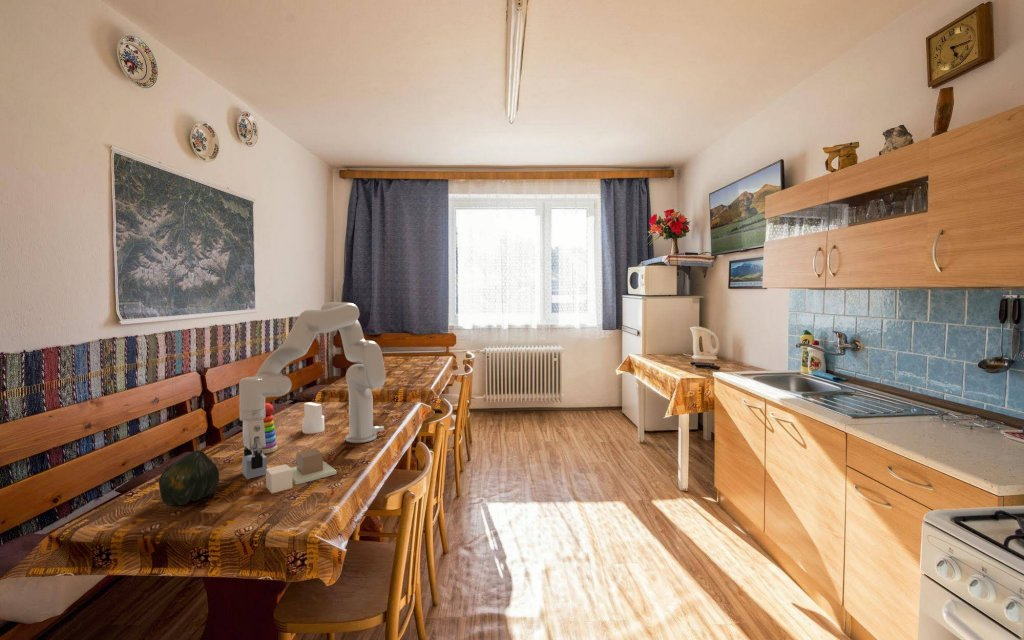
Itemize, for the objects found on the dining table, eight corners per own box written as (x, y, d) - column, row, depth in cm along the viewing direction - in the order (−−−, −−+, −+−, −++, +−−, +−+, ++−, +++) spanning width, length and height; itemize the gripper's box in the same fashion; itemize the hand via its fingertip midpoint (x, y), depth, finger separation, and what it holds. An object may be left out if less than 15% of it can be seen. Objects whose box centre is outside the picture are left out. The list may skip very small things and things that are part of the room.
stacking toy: (267, 455, 171) (266, 406, 170) (249, 453, 173) (247, 405, 172) (282, 448, 179) (281, 401, 178) (264, 446, 181) (263, 400, 180)
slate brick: (262, 469, 158) (261, 452, 158) (267, 474, 154) (266, 457, 153) (242, 474, 154) (242, 456, 154) (246, 479, 149) (246, 461, 149)
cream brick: (286, 482, 147) (286, 464, 147) (292, 488, 143) (292, 469, 143) (266, 487, 143) (265, 468, 143) (271, 493, 139) (271, 474, 139)
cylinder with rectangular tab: (328, 429, 204) (328, 403, 203) (310, 434, 196) (309, 407, 196) (316, 426, 209) (315, 400, 208) (298, 431, 201) (297, 404, 200)
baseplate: (322, 463, 163) (322, 443, 163) (336, 474, 154) (336, 453, 154) (283, 472, 155) (283, 452, 154) (296, 484, 145) (295, 462, 145)
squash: (135, 491, 127) (170, 452, 127) (174, 473, 142) (206, 437, 142) (173, 525, 127) (209, 485, 127) (209, 503, 142) (240, 467, 142)
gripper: (272, 417, 149) (272, 468, 149) (258, 407, 161) (258, 455, 162) (246, 421, 143) (247, 474, 144) (234, 410, 156) (234, 459, 157)
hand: (253, 464), depth 153 cm, fingers open, 9 cm apart
